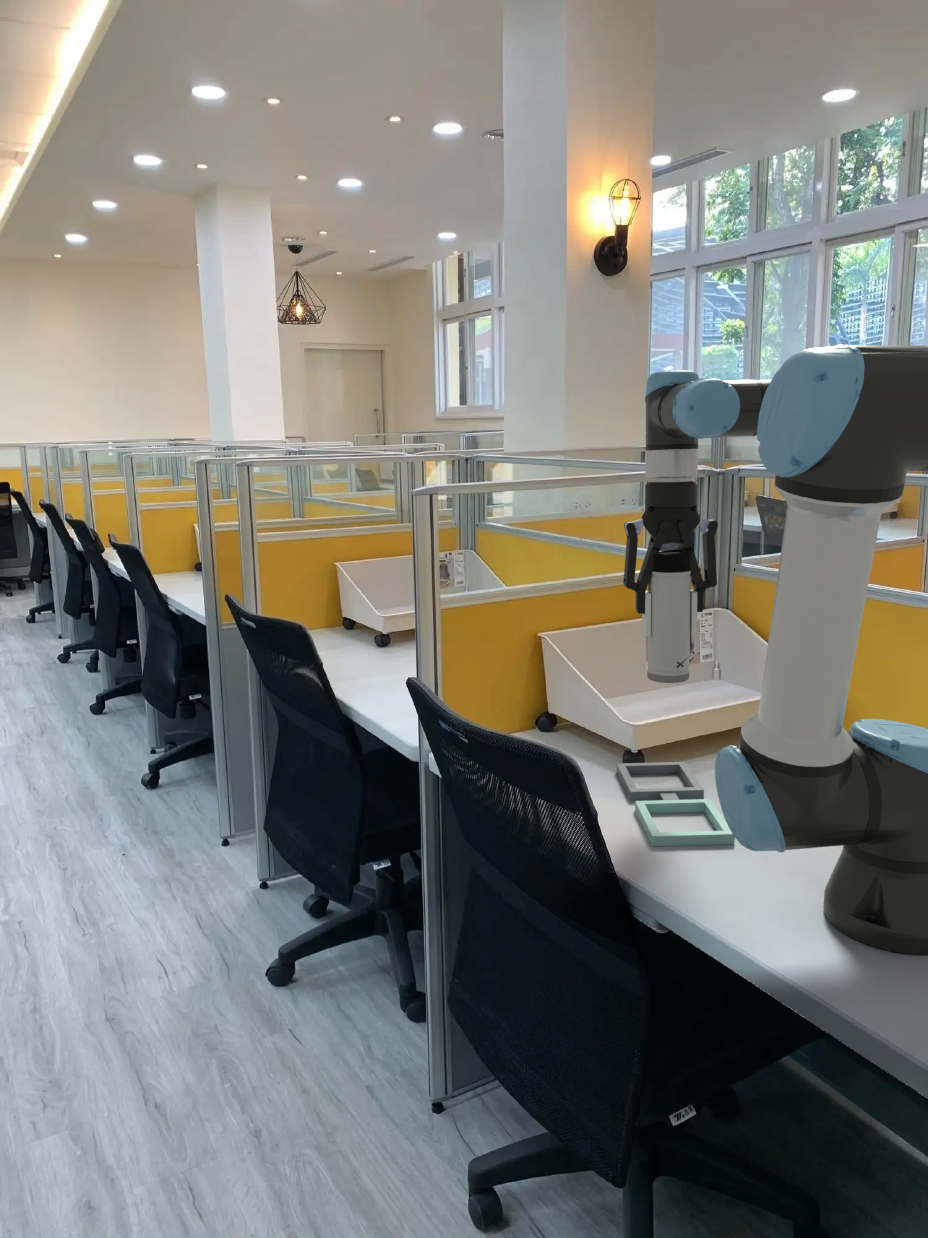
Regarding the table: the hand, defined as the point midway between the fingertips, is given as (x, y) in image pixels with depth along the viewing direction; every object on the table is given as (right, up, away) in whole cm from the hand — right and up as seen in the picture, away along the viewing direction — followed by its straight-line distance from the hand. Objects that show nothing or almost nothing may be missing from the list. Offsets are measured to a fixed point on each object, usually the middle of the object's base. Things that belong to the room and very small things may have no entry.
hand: (669, 633), depth 140 cm
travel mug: (0, -7, +1) cm, 7 cm away
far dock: (0, -25, +8) cm, 26 cm away
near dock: (+1, -28, -6) cm, 29 cm away
